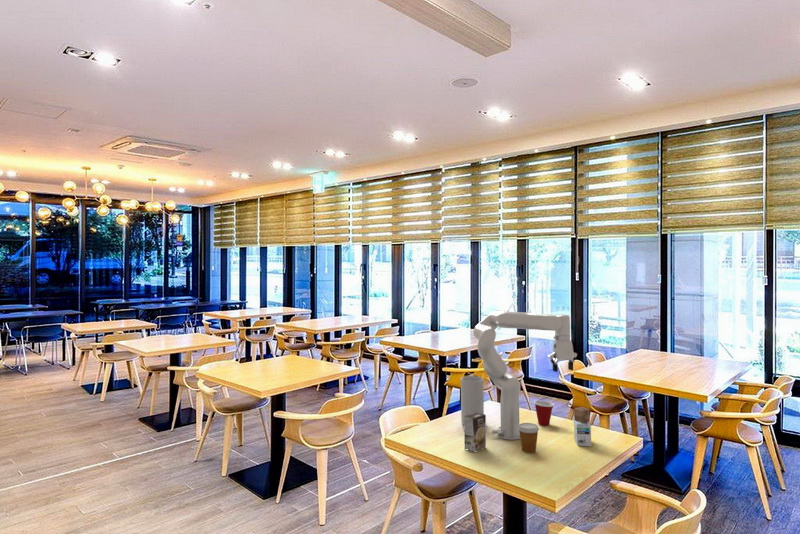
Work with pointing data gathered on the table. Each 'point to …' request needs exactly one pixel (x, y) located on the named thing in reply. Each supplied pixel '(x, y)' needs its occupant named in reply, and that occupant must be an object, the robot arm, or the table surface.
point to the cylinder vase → (471, 396)
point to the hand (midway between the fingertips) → (563, 370)
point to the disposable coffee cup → (528, 437)
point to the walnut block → (582, 414)
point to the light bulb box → (582, 433)
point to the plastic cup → (543, 412)
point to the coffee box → (475, 431)
